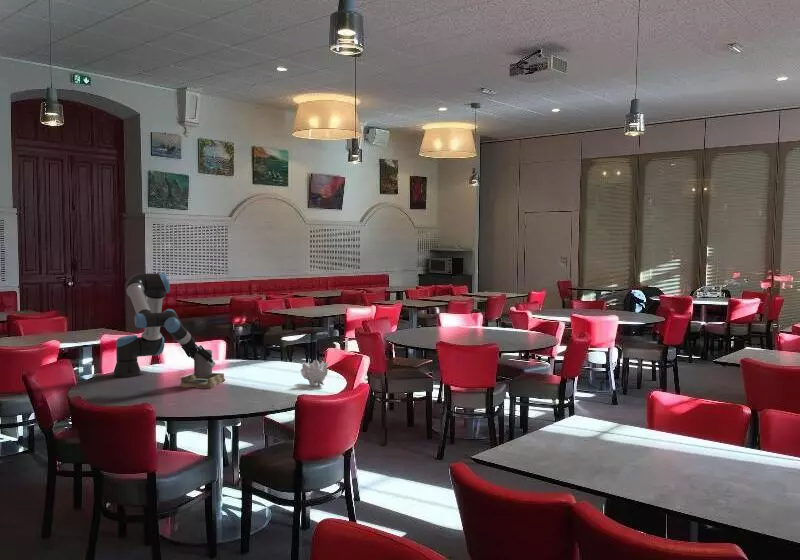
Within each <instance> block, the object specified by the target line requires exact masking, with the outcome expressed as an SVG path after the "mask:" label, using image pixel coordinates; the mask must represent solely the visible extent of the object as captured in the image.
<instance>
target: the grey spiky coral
mask: <svg viewBox="0 0 800 560" xmlns="http://www.w3.org/2000/svg"><path fill="white" fill-rule="evenodd" d="M301 364H302V366H301V367H302V368H301V369H300V372H301V374H300V375H301V376H302V377H303V378H304V380H307V381H308V383H309V386H310V387H311V386H312V387H313V386H314V384H315V385H316V384H317V386H321V385H322V386H324V385H325V384H324V381H325V379H326V377H327V376H328V371H329V368H327V367H328V364H329V361H328V362H324V360H322V361H321V362H320V361H319V360H318V358H317V357H316V358H315V359H314V360H313V361H312V363H310V362H301Z"/></svg>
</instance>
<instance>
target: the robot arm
mask: <svg viewBox="0 0 800 560" xmlns="http://www.w3.org/2000/svg"><path fill="white" fill-rule="evenodd" d="M170 286H171V285H170V280H169V277H168V275H167V274H166V273H164V272H163V273H162V272H161V273H160V272H157V273H156V272H155V273H153V272H152V273H144V272H143V273H137V274H134V275H132V276H131V277H130V278H129V279H128V281H127V282H126V284H125V292H126V294H127V296H128V297H129V298H130V300H131V303H132V305H133V308H134V311H135V315H134V325H135V328H139V329H141V328H142V329H144V331H143V332H142V333H141V336H139V337H138V335H137V334H132V335H131V334H130V335H125V336H121V337H118V338H117V339H116V343H115V348H116V351H115V352H116V353H115V354H116V363H115V366H114V369H113V373H112V374H113V377H115V378H131V377H130V376H132V377H136V375H137V376H139V375H141V374H142V373H141V368H140V365H139V362H138V358H139V357H150V356H153V357H154V356H158V355H161V354H162V353H164V349H165V337H164V336H163V334H162V333H161V327H163V328H165V330H166V331H167V332H168V333H169V334H170V335H171V336H172V338H174V339H175V341H176V342H177V344H179V345H180V347H181V349H182V350H183V351H184V353H185V355H186V356H187V358H191V359H192V360H193V361H194V352H195V353H196V354H197V353H198V354H199V355H201V356H202V357H204V358H205V359H206V361H207V362H208V363H209V364H210V365H211V366H212V368H214V367H215V365H216V362H215V361H214V359H213V354H212V355H211V354H210V353H208V352H207V351H206V350H207V349H205V348H204V347H203V346H202V345H201V344H199V345H198V344H197V343H196V339H195V338H194V337H193V336H192V334H190V332H189V331H188V330H187V329H186V328H185V327H184V326H183V324H182V322H181V320H180V318H179V316H178V314H177V312H176V311H175V310H174V309H171V308H167V309H166V310H165V309H164V311H163V312H162V309H163V300H164V299H165V298H166V296H167V294H168V293H170V291H171V290H170V289H171V287H170ZM197 350H198V351H197ZM211 357H212V359H211Z"/></svg>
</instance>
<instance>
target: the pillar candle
mask: <svg viewBox="0 0 800 560" xmlns="http://www.w3.org/2000/svg"><path fill="white" fill-rule="evenodd" d="M205 350H206V351H207V352H208V353H210V354H211V355H212V357H211V359H212V360H213V351H212V349H205ZM197 351H198V350H197ZM193 368H194V369H193V373H194V376H199V377H203V376H209V375H212V373H213V367H212V366H211V365H210V364H209V363H208V362H207V361H206V359H205V358H204V357H202V356H201V355H199V354H198V353H197V354H196V353H195V352H194V360H193Z"/></svg>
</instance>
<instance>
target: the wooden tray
mask: <svg viewBox="0 0 800 560" xmlns="http://www.w3.org/2000/svg"><path fill="white" fill-rule="evenodd" d="M180 380H181V381H180V386H179V387H180V388H189V387H196V388H195V389H213V388H215V387H217V386H216V385H218V384H220V383H222V382H224V381H225V382H226V378H225V373H220V372H218V373H216V372H212V375H209V376H203V377H199V376H194V372H193V373H191V374H189V375H185V376H183V377H181V378H180ZM225 382H224V383H225ZM222 384H223V383H222ZM220 385H221V384H220ZM214 386H215V387H214ZM218 386H219V385H218ZM212 387H213V388H212Z"/></svg>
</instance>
